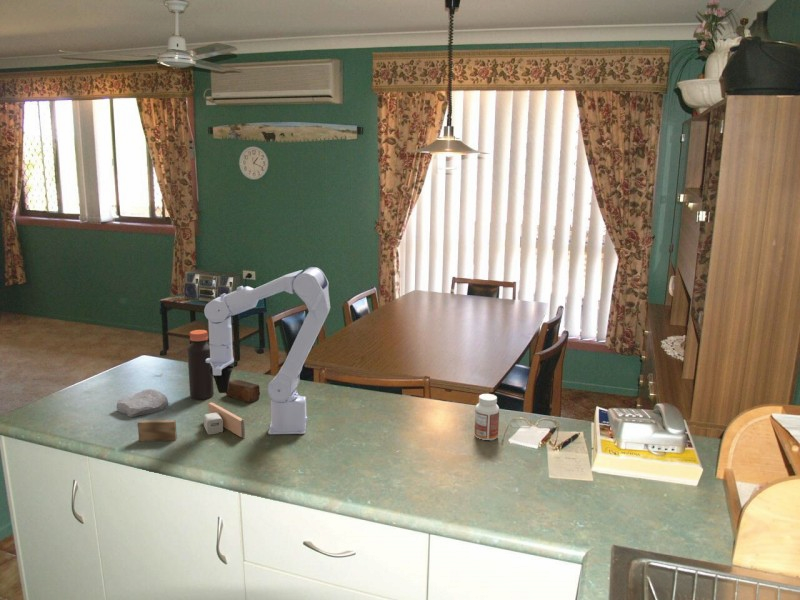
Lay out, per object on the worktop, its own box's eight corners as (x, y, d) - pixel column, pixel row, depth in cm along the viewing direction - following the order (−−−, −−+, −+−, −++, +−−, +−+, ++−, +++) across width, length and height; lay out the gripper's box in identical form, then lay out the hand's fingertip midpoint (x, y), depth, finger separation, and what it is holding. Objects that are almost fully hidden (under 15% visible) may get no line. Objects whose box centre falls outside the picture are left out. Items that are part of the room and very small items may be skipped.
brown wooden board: (176, 438, 159) (175, 420, 158) (175, 440, 158) (174, 422, 157) (140, 438, 158) (139, 420, 157) (139, 441, 157) (137, 422, 156)
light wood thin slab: (245, 436, 160) (245, 419, 159) (242, 438, 159) (241, 420, 158) (212, 417, 171) (211, 401, 170) (209, 418, 170) (208, 402, 169)
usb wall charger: (207, 435, 161) (206, 420, 160) (202, 424, 167) (201, 411, 166) (223, 432, 163) (222, 418, 162) (217, 422, 169) (216, 408, 168)
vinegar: (209, 400, 184) (206, 335, 179) (186, 399, 184) (182, 334, 179) (216, 391, 190) (213, 329, 186) (194, 391, 190) (191, 328, 186)
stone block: (172, 412, 179) (152, 398, 184) (173, 398, 178) (152, 384, 183) (134, 427, 170) (114, 411, 175) (134, 412, 168) (114, 397, 174)
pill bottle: (495, 431, 167) (497, 392, 164) (499, 441, 161) (502, 401, 158) (472, 431, 166) (474, 392, 164) (476, 441, 160) (478, 401, 158)
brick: (260, 399, 186) (260, 384, 185) (250, 403, 182) (250, 388, 181) (235, 392, 191) (234, 377, 190) (225, 395, 188) (224, 381, 187)
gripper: (210, 335, 169) (213, 382, 172) (199, 351, 155) (202, 402, 158) (237, 335, 169) (239, 382, 172) (228, 351, 155) (230, 402, 158)
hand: (223, 392), depth 165 cm, fingers closed
